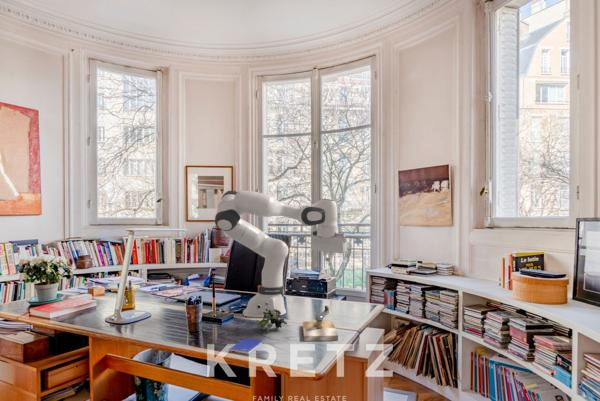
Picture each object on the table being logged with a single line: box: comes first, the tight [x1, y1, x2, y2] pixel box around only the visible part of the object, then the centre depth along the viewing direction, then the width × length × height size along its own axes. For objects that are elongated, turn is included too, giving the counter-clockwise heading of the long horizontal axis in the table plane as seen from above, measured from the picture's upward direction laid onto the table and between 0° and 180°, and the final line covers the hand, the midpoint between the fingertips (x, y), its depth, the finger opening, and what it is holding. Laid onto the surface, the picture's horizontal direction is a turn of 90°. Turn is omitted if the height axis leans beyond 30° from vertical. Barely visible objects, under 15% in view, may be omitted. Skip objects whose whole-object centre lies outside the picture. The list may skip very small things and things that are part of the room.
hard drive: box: [229, 338, 264, 355], centre depth 149 cm, size 2×8×12 cm
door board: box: [302, 319, 339, 342], centre depth 166 cm, size 14×21×6 cm, turn 2°
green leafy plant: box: [255, 309, 288, 333], centre depth 169 cm, size 11×11×12 cm
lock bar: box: [315, 305, 330, 321], centre depth 170 cm, size 13×3×3 cm, turn 158°
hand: (328, 261), depth 181 cm, fingers closed
